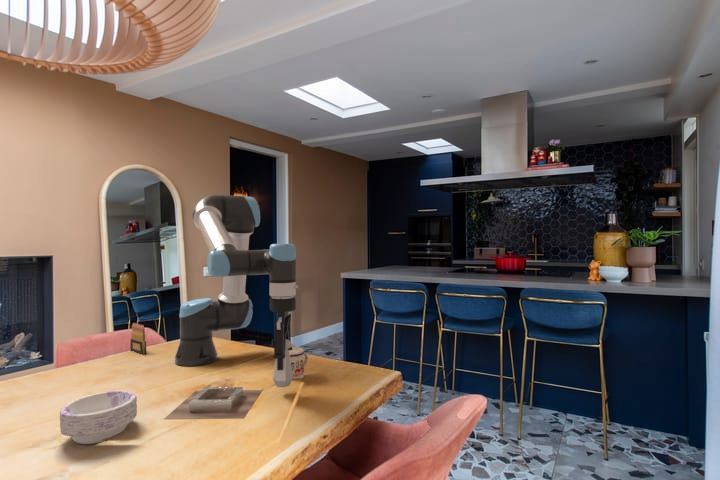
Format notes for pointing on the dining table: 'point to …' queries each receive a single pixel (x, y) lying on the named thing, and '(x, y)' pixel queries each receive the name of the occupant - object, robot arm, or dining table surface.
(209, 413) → the walnut board
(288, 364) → the salt shaker
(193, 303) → the robot arm
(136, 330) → the brown flat upright block
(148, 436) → the dining table surface
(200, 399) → the metal collar
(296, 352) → the teacup with lid
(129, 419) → the paper bowls
